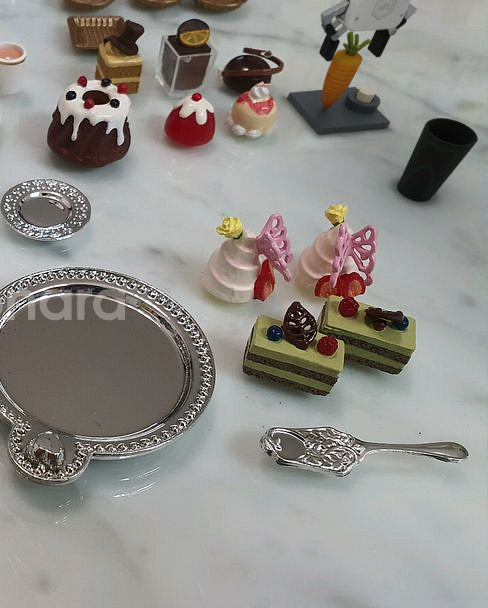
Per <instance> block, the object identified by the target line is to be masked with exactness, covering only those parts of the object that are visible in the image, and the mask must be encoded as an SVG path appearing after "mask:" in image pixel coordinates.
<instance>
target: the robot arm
mask: <svg viewBox="0 0 488 608" xmlns="http://www.w3.org/2000/svg"><path fill="white" fill-rule="evenodd" d="M411 2H412V1H411V0H340V2H338V3H336V4H335V5H333V6H331V7H328V8H327V9H325V10H324V11H321V13H320V21H321V25H320V26H321V27H322V29H323V32H324V33H325V37H324V39H323V41H322V43H321V46H320V48H319V51H318V53H319V56H320V57H322V58H323V59H324V60H325V61H326V62H331V61H332V59H333V57H334V55H335V54H336V52H337V51H338V48H339V45H340V43H341V40H340V39H339V38H341V37H342V36H343V35H344V34H346V32H348V31H349V32H367V31H368V32H369V31H374V33H373V35H372V38H371V39H370V40H371V43H369V44H368V45H367V50H368V51H369V52H370V53H371V54H372V55H373V56H374V57H375V58H381V57H382V55H383V54H384V51H385V49H386V47H387V45H388V43H389V41H390V38H391V37H393V36H395V35H396V34H397V31H398V30H399V29H400V28H403V26H405V24H406V23H407V22H408V20H409V19H410V18H411V17H412V16H413V15H414V14H415V13H416V12H417V10H418V9H417V7H416V6H415V5H413V4H412V3H411ZM333 19H334V20H333ZM340 25H341V26H340ZM338 27H339V28H338ZM337 28H338V29H337Z"/></svg>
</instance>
